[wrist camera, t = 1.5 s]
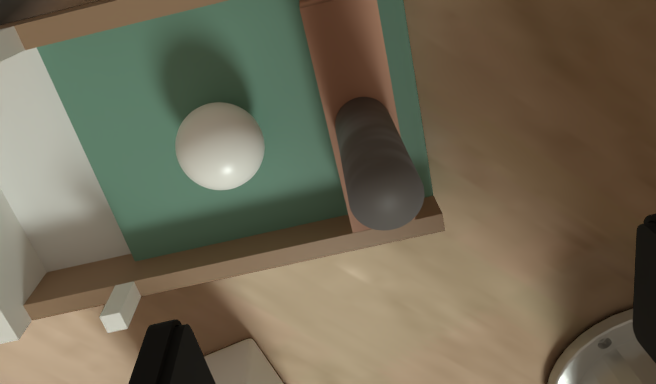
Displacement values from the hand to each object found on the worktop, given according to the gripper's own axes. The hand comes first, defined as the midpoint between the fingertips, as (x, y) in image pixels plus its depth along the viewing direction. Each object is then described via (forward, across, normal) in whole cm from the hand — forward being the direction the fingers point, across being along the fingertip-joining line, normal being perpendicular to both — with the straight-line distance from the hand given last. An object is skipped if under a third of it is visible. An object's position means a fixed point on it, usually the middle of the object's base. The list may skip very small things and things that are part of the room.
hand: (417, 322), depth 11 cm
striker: (+16, 0, +1) cm, 16 cm away
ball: (+15, +6, +1) cm, 16 cm away
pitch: (+18, +8, +1) cm, 20 cm away
